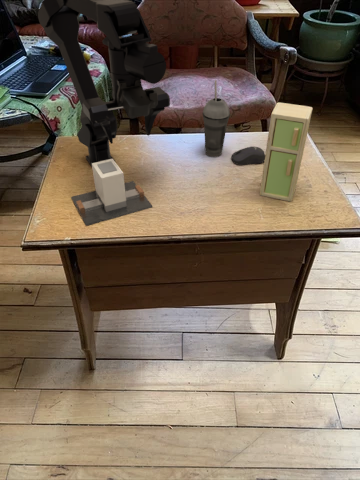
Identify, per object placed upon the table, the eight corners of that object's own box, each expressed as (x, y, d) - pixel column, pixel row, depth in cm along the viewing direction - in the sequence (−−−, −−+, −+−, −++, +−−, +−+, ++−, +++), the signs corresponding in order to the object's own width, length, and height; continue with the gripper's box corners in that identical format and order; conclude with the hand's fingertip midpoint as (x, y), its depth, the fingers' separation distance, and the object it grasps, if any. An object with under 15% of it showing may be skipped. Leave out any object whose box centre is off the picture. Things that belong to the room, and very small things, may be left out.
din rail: (71, 198, 98) (70, 191, 97) (133, 182, 104) (132, 176, 103) (86, 226, 90) (85, 219, 89) (152, 207, 96) (152, 200, 95)
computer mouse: (229, 156, 115) (230, 143, 112) (261, 154, 116) (263, 141, 113) (233, 167, 111) (235, 153, 108) (267, 165, 111) (269, 151, 109)
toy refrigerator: (257, 196, 99) (270, 114, 86) (264, 181, 105) (277, 101, 91) (290, 204, 97) (309, 120, 84) (295, 188, 102) (314, 106, 89)
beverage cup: (210, 162, 112) (215, 89, 99) (195, 151, 117) (198, 80, 104) (231, 155, 115) (238, 83, 102) (216, 144, 120) (221, 74, 107)
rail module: (96, 196, 98) (91, 162, 92) (116, 191, 100) (112, 157, 94) (106, 211, 94) (101, 177, 88) (126, 206, 95) (123, 171, 89)
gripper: (93, 90, 77) (103, 163, 88) (181, 75, 84) (180, 145, 94) (76, 72, 85) (87, 141, 95) (158, 60, 91) (160, 126, 102)
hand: (129, 138), depth 96 cm, fingers open, 9 cm apart
